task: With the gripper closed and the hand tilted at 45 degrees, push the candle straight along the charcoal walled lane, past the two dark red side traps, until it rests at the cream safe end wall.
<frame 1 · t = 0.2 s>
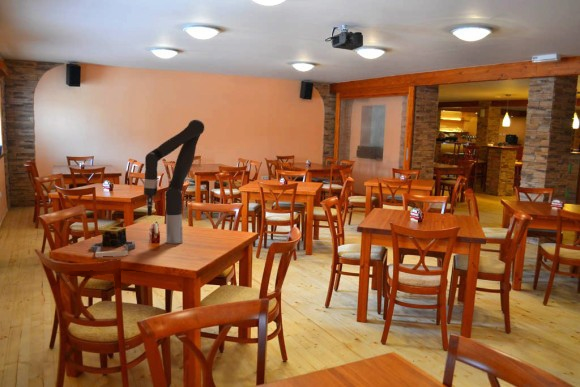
hand: (149, 214, 285), 18 cm above the table, tool pointing down, fingers open, 8 cm apart
candle: (114, 245, 283), on the table
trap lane: (113, 250, 271), on the table
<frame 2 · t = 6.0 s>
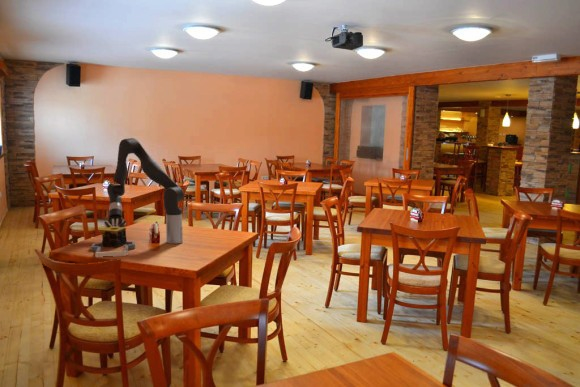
hand: (115, 235, 288), 4 cm above the table, tool tilted 45°, fingers closed
candle: (114, 245, 282), on the table, touching gripper, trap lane
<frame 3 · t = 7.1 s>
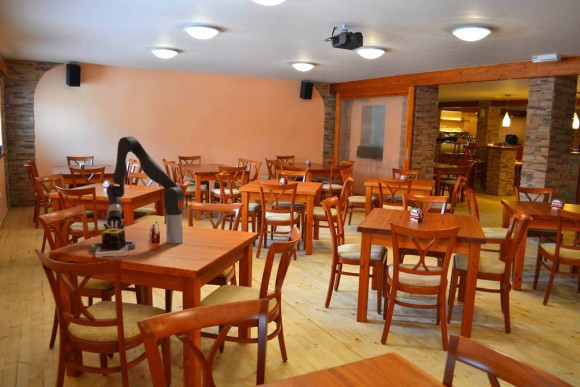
hand: (114, 237, 282), 4 cm above the table, tool tilted 45°, fingers closed
candle: (113, 248, 277), on the table, touching gripper
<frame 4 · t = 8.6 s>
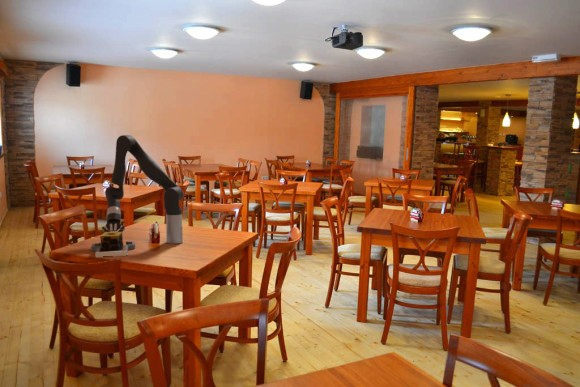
hand: (113, 241, 274), 4 cm above the table, tool tilted 45°, fingers closed
candle: (112, 251, 270), on the table, touching gripper
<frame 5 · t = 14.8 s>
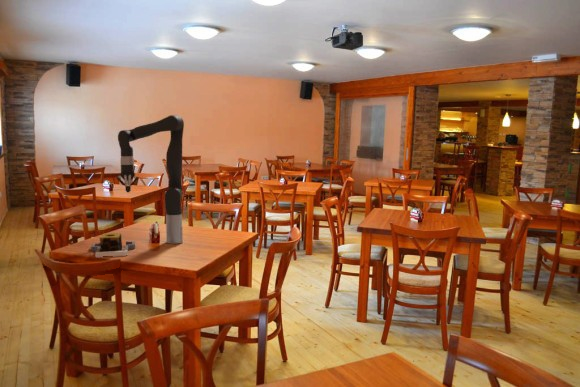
hand: (128, 192, 294), 29 cm above the table, tool pointing down, fingers closed
candle: (111, 253, 266), on the table
at the end: candle inside the target area (1.2 cm from its centre), on the table; candle tilted 0° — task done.
